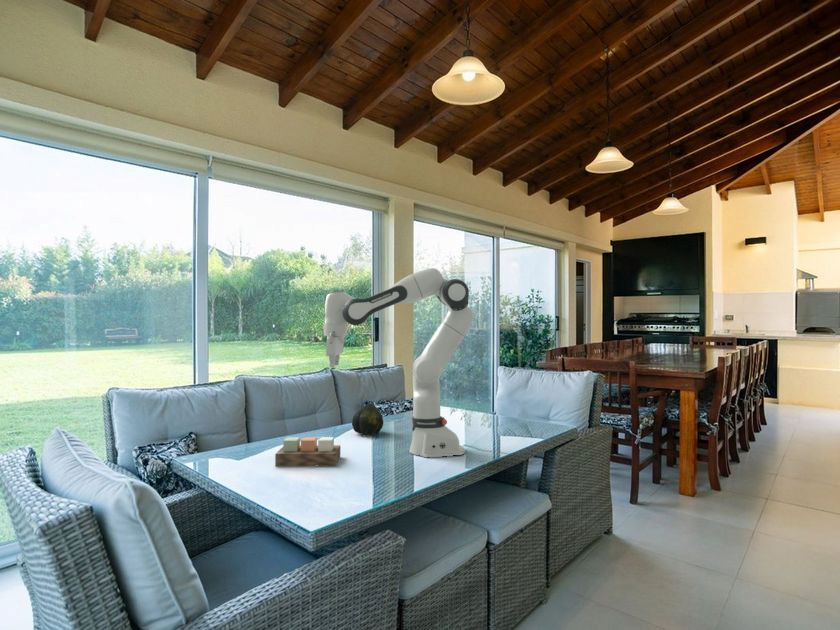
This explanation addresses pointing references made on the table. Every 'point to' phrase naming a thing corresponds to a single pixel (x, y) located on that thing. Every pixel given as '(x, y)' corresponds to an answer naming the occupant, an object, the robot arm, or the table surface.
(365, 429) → the squash
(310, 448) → the terracotta key
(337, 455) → the board
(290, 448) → the sage key
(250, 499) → the table surface
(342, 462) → the table surface
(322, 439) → the cream key
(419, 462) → the table surface
